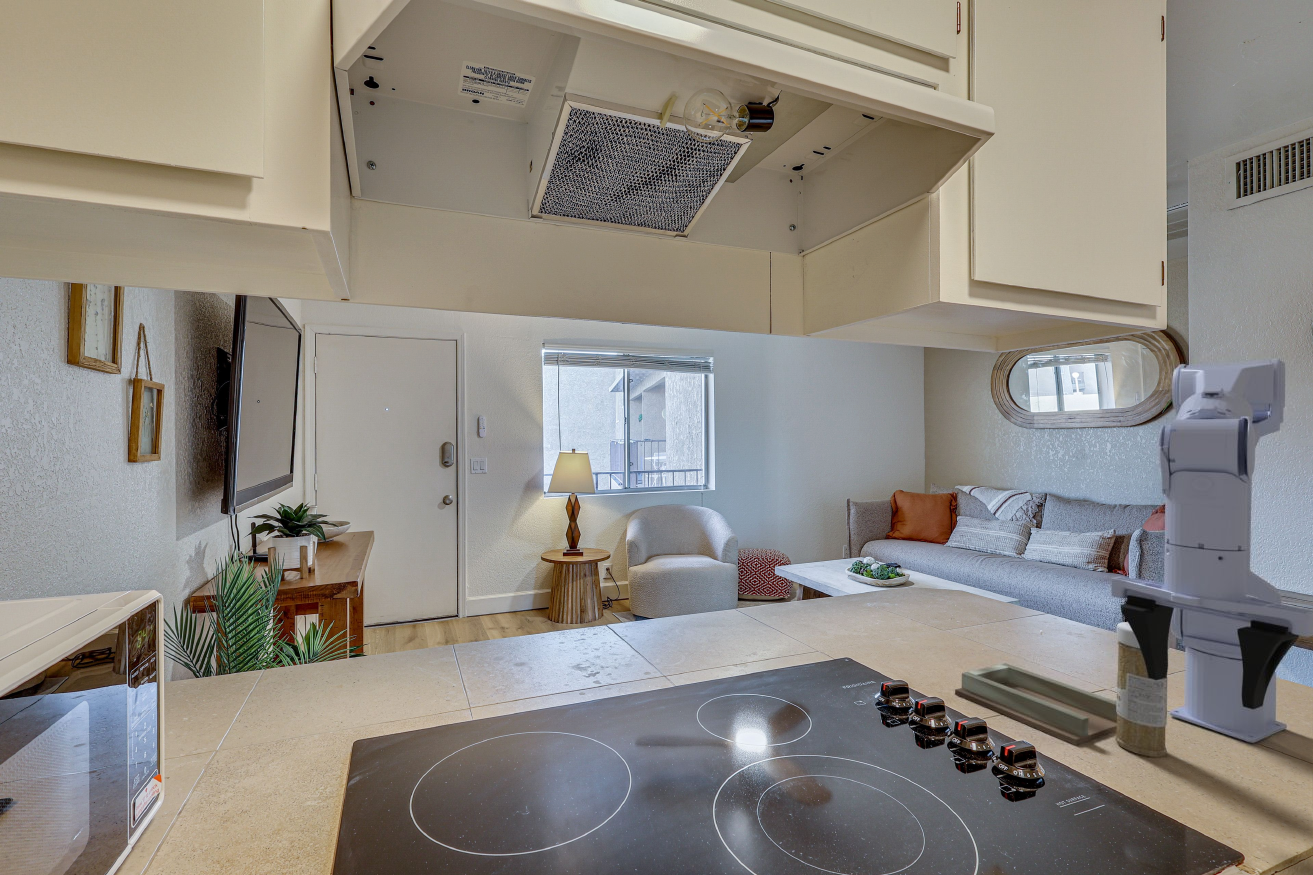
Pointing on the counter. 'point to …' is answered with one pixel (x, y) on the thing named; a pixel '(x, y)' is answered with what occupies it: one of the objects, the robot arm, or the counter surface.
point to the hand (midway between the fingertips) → (1202, 691)
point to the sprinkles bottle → (1139, 700)
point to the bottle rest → (1041, 702)
